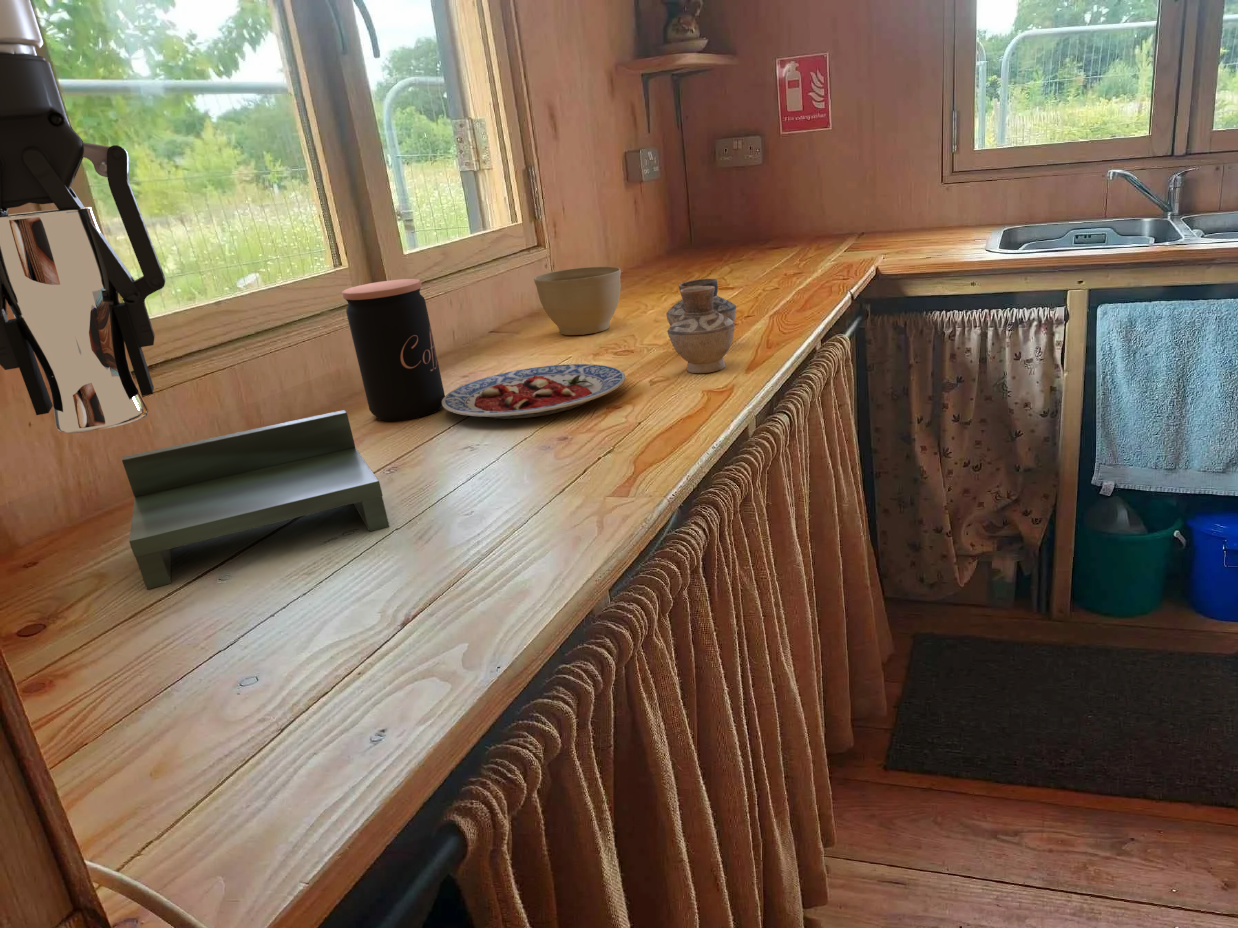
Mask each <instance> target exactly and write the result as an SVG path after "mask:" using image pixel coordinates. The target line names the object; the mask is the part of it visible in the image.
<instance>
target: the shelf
mask: <svg viewBox="0 0 1238 928" xmlns="http://www.w3.org/2000/svg"><path fill="white" fill-rule="evenodd" d="M121 462H122V466H123V468H124V471H125V474H126V476H127V480H128V483H129V485H130V488H131V491H132V492H131V493H132V494H133V497H134V500H133V508H132V517H131V524H130V531H129V540H128V543H129V545H130V549H131V551H132V554H133V557H134V558H135V559H136V563H137V566H138V569H139V571H140V574H141V577H142V580H143V584H144V586H145V589H146V590H152V589H155V588H158V587H163V586H166V585H170V584H171V582H172V581H171V580H172V579H171V578H172V549H174V548H178V547H183V546H187V545H191V544H195V543H200V542H204V541H208V540H211V539H216V538H220V537H223V536H227V535H232V534H236V533H240V532H243V531H247V530H251V529H252V530H253V529H254V528H255V529H256V528H259V527H265V526H267V525H272V524H275V523H280V522H283V521H288V520H291V519H297V518H301V517H305V516H308V515H313V514H316V513H321V512H324V511H328V510H332V509H337V508H340V507H345V506H349V505H352V504H353V506H354V508H355V509H356V511H357V513H358V515H359V516H360V518H361V519H362V522H363V523H364V525H365V526H366V528H367V530H368V532H374V531H377V530H381V529H384V528H389V527H390V523H389V518H388V514H387V509H386V506H385V502H384V497H383V491H382V488H381V482H380V480H379V479H378V477H377V476H376V475H375V473H374V471H372V468H370V466H369V465H368V463H367V462H366V460H365V459H364V457H363V456H362V455H361V454H360V452H359V450H358V449H357V447H356V443H355V440H354V435H353V431H352V427H351V424H350V420H349V416H348V412H347V411H346V410H345V409H343V410H337V411H332V412H328V413H327V412H326V413H323V414H318V415H313V416H308V417H303V418H299V419H295V420H289V421H285V422H281V423H275V424H271V425H266V426H260V427H256V428H251V429H247V430H242V431H238V432H233V433H228V434H224V435H219V436H214V437H210V438H209V437H208V438H205V439H199V440H195V441H191V442H184V443H181V444H176V445H171V446H166V447H162V448H156V449H153V450H147V451H143V452H139V453H133V454H129V455H123V456H122V459H121Z"/></svg>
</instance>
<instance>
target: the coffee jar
mask: <svg viewBox="0 0 1238 928" xmlns="http://www.w3.org/2000/svg"><path fill="white" fill-rule="evenodd" d="M422 287H423V285H422V280H421V279H418V278H401V279H390V280H384V281H383V280H382V281H377V282H376V281H375V282H371V283H365V284H359V285H356V286H352V287H348V288H346V289H344V290H342V291H341V295H342V298H343V299H344V300H345V301H346V302H347V307H346V309H345V312H346V317H347V321H348V327H349V329H350V335H351V337H352V342H353V347H354V351H355V355H356V358H357V359H356V360H357V363H358V368H359V371H360V376H361V380H362V385H363V388H364V392H365V396H366V397H365V398H366V401H367V405H368V409H369V412H371V414H372V415H373V416H374V417H375V418H376V419H377V420H378V421H382V422H402V421H409V420H410V421H411V420H414V419H419V418H422V417H426V416H430V415H432V414H434V413H436V412H437V413H438V412H439V411H440V410H441V409H443V406H442V400H443V398H444V397H445V396H446V395H445V390H444V385H443V380H442V379H443V378H442V374H441V371H440V365H439V361H438V356H437V350H436V346H435V341H434V336H433V331H432V327H431V321H430V315H429V313H428V312H429V311H428V308H427V303H426V299H425V297H424V296H423V295H422V294H421V292H420V291H421V288H422Z"/></svg>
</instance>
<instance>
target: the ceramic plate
mask: <svg viewBox="0 0 1238 928" xmlns="http://www.w3.org/2000/svg"><path fill="white" fill-rule="evenodd" d="M625 381H626V374H625V372H623V370H621V369H619V368H616V367H612V366H608V365H603V364H591V363H590V364H589V363H587V364H586V363H576V364H575V363H574V364H572V363H571V364H570V363H569V364H554V365H553V364H552V365H545V366H537V367H529V368H522V369H517V370H512V371H511V370H510V371H507V372H503V373H498V374H493V375H490V376H486V377H483V378H480V379H477V380H474V381H471V382H468V383H465V384H463V385H461V386H459V387H457V388H455V389H452V390H451V391H449V392H448V393H447V394H446V395H445V397H444V398H443V400H442V408H443V409H444V410H446V411H448V412H451V413H454V414H457V415H462V416H471V417H486V418H490V419H502V420H503V419H504V420H514V419H529V418H537V417H542V416H548V415H553V414H558V413H562V412H566V411H569V410H572V409H574V408H578V407H580V406H582V405H584V404H587V403H588V402H591V400H592V401H593V400H595V399H599V398H601V397H602V396H603V397H604V396H605V395H608V394H610V393H612V392H613V391H615V390H617V389H618V388H620V387H621V386H622V385H623V384H624V383H625Z"/></svg>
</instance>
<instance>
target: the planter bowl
mask: <svg viewBox="0 0 1238 928" xmlns="http://www.w3.org/2000/svg"><path fill="white" fill-rule="evenodd" d="M621 274H622V270H621V268H620V267H618V266H608V265H607V266H586V267H574V268H567V269H561V270H556V271H550V272H545V273H542V274H539V275H536V276H535V277H534V278H533V281H534V285H535V286H536V291H537V295H538V298H539V299H538V300H539V302H540V303H541V306H542V308H543V310H544V311H545V313H546V315H547V316H548V318H549V319H550V320H551V321H552V322H553V324H555V326H556V327H557V328H558V331H559V333H560V334H561V335H564V336H584V335H589V334H596V333H600V332H603V331H606V330H609V328H610V327H611V320H612V318H613V316H614V315H615V312H616V310H617V308H618V305H619V302H620V297H621V288H622V287H621V284H622V283H621Z"/></svg>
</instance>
